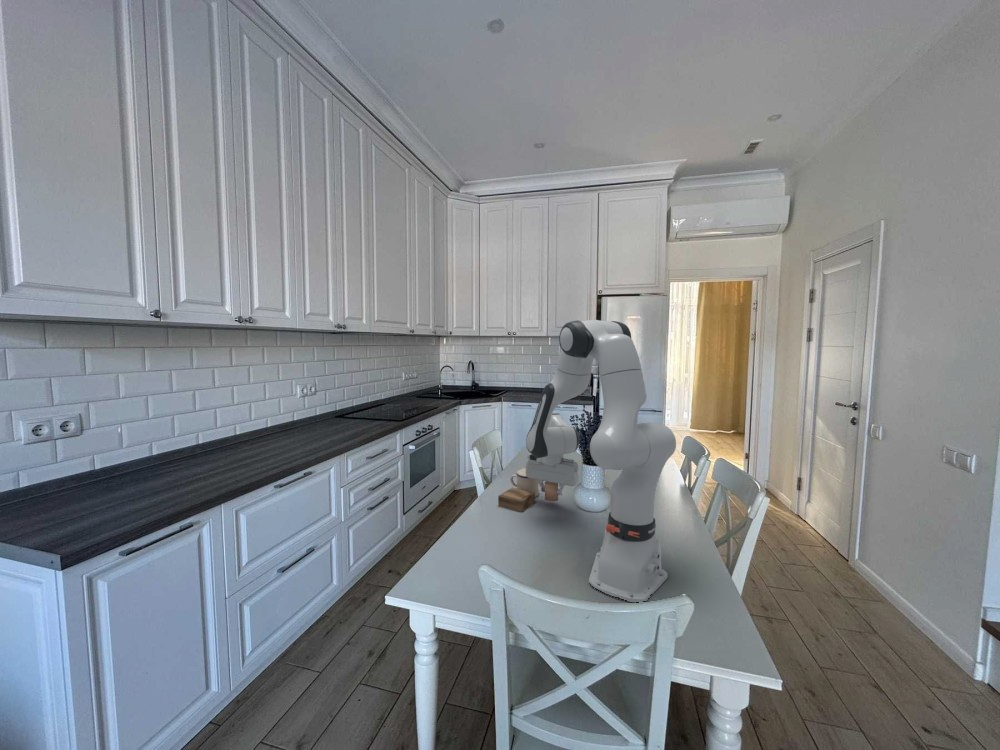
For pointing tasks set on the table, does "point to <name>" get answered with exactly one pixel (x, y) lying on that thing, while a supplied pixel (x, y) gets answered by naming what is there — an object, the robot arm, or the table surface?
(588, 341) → the robot arm
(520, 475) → the teacup with lid
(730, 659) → the table surface
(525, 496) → the base
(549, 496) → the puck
